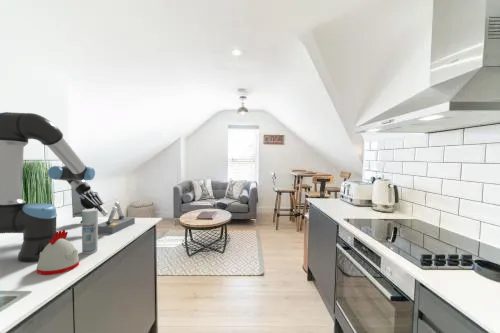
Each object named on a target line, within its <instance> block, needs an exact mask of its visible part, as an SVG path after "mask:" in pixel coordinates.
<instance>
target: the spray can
mask: <svg viewBox="0 0 500 333" xmlns="http://www.w3.org/2000/svg"><path fill="white" fill-rule="evenodd" d="M81 221H82V223H81V238H82V239H81V244H82V245H81V246H82V247H81V248H82V249H81V250H82V254H85V255H86V254H87V255H88V254H94V253H96V252H97V251H98V247H99V246H98V244H99V243H98V241H99V240H98V239H99V237H98V236H99V235H98V234H99V233H98V224H99V222H98V221H99V211H98V209H97V208H96V209H94V208H92V209H86V208H84V209H82V210H81Z"/></svg>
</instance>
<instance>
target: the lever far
mask: <svg viewBox="0 0 500 333" xmlns="http://www.w3.org/2000/svg"><path fill="white" fill-rule="evenodd" d="M114 207H117V210H116V212H117V215H118V217H119V219H122V218H124V217H125V215H124V214H123V211H122V208H121V206H120V202H118V201H115V203H114Z"/></svg>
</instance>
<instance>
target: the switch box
mask: <svg viewBox="0 0 500 333" xmlns="http://www.w3.org/2000/svg"><path fill="white" fill-rule="evenodd" d="M135 219H136V218H135V217H128V216H127V217H126V216H124V218H122V219H119V216H116V217H114V218H113V220H112V223H111V224H109V225H107V224H106V222H107V221H108V220H106V221H103V222H101V223H98V234H108V235H109V234H110V235H111V234H115V233H117V232H119V231H122V230H124V229H126V228H128V227H130V226H132V225H135V224H136V223H135V221H136V220H135Z"/></svg>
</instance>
